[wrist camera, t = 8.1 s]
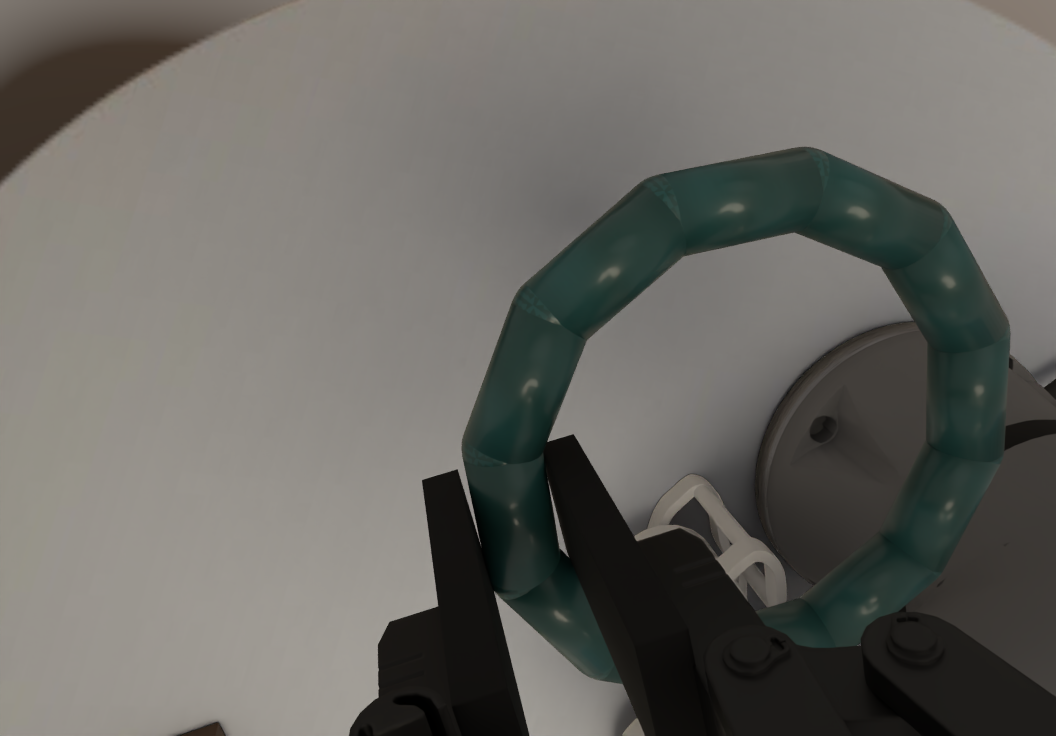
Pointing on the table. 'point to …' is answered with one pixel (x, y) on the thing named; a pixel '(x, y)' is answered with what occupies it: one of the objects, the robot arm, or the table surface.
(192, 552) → the table surface
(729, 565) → the wheeled car silhouette
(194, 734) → the stand
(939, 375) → the ring
